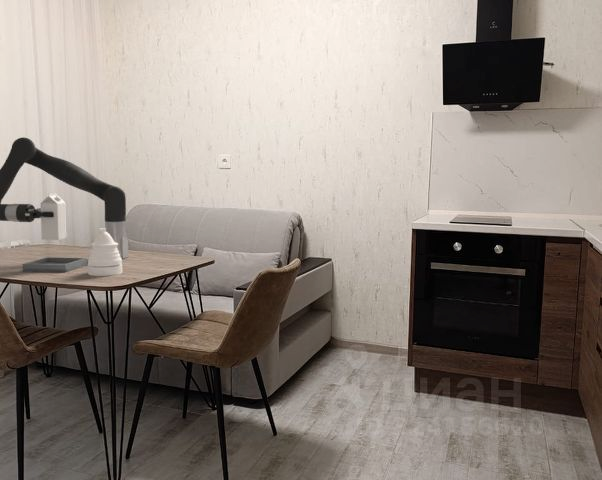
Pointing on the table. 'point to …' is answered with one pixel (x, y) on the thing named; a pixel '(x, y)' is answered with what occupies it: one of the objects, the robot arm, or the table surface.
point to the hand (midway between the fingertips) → (58, 213)
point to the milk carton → (53, 218)
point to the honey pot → (104, 256)
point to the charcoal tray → (54, 264)
